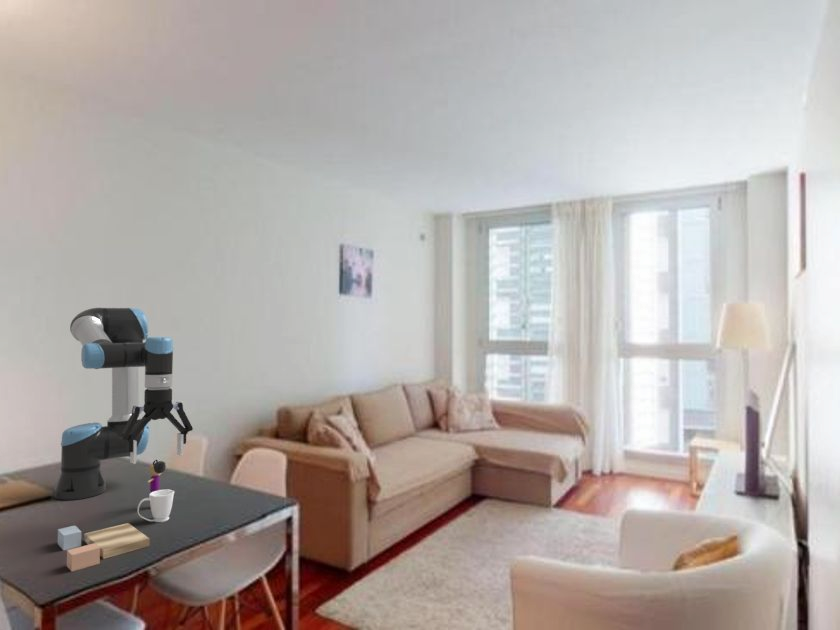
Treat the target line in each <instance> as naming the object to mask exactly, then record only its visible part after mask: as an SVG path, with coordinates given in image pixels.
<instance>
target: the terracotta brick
mask: <svg viewBox="0 0 840 630" xmlns="http://www.w3.org/2000/svg"><path fill="white" fill-rule="evenodd" d="M100 557H101V556H100V547H99V546H97V545H96V544H95V543H93V544H89V545H88V544H86V545H83V546H82V545H81V546H79V547H75V548H72V549H68V550H66V567H67V568H68V569H69V570H70V572H76V571H79V570H82V569H86V568H89V567H91V566H95V565H96V566H97V565H100V564H101V563H100V561H101V558H100Z"/></svg>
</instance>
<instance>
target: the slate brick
mask: <svg viewBox="0 0 840 630" xmlns="http://www.w3.org/2000/svg"><path fill="white" fill-rule="evenodd" d="M57 545H58V546H59V547H60V548H61V549H62V551H67V550H70V549H74V548H78V547H82V530H80V529H79V527H78V526H77V525H71V526H67V527H62V528H58V529H57Z"/></svg>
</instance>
